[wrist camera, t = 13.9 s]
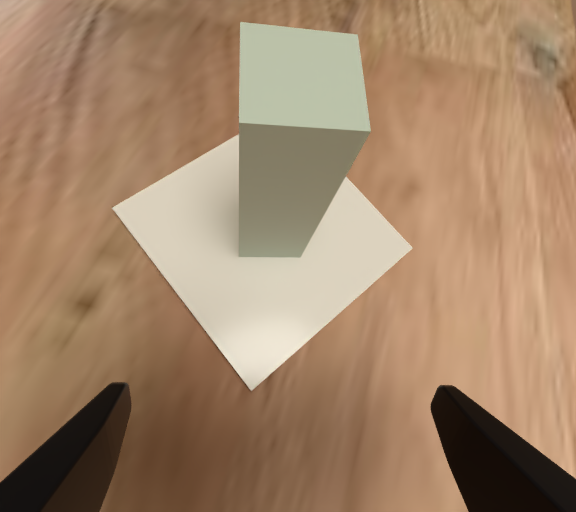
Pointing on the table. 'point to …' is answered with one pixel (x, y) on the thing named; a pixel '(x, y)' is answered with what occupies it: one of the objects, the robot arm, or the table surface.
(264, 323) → the tile
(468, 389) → the table surface
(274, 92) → the block
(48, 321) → the table surface
